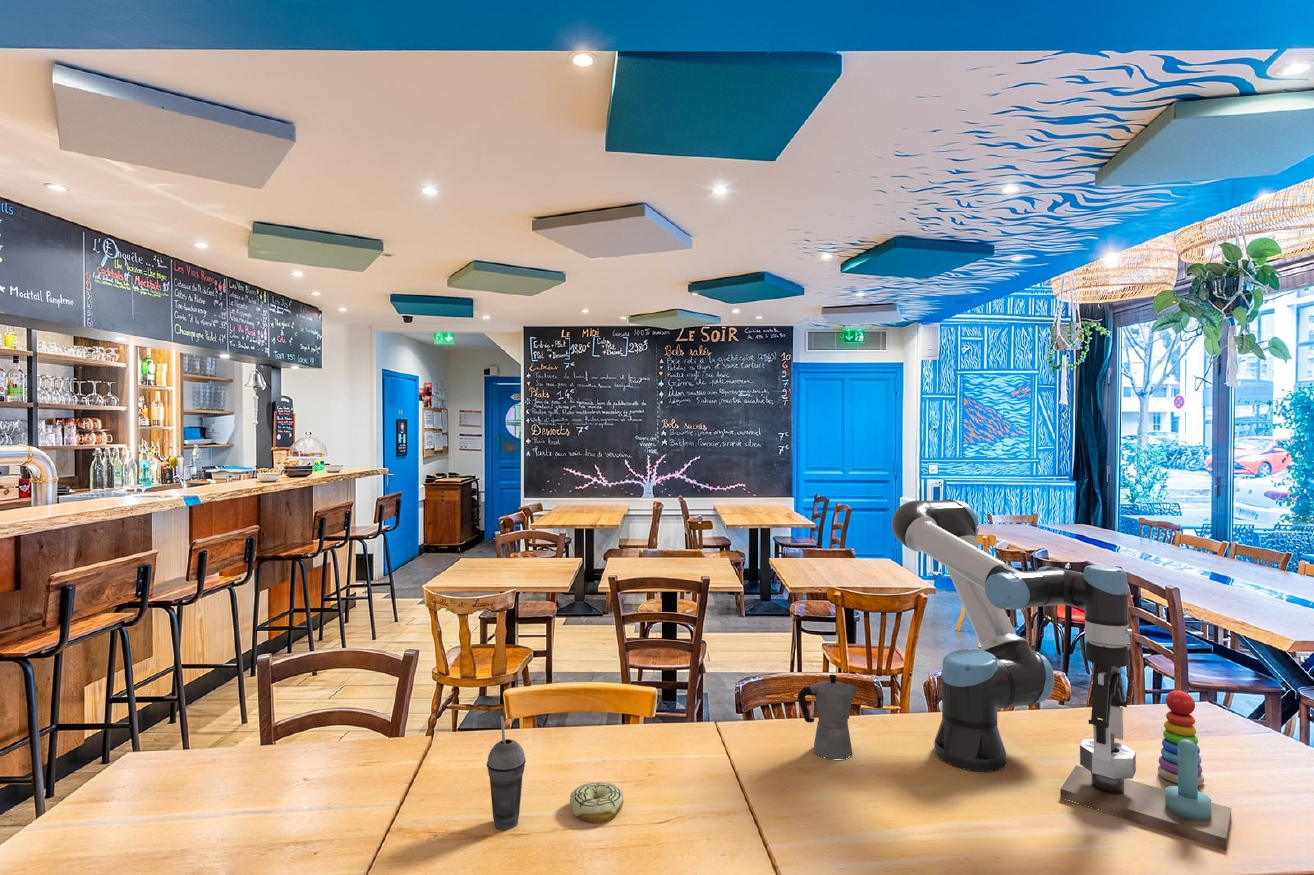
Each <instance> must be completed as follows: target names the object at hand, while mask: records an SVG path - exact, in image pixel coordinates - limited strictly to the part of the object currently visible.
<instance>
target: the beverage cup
mask: <svg viewBox="0 0 1314 875" xmlns="http://www.w3.org/2000/svg"><path fill="white" fill-rule="evenodd" d="M504 722H505V721H504V716H503V715H501V716H500V726H501V738H502V739H501V740H500V741H498V742H497V743H495V744H494V745H493V747H492V748H491V749H490V751H489V752H488V755H487V756H488V757H487V761H486V768H487V774H488V777H489V784H490V786H489V787H490V797H491V807H492V809H491V810H492V820H493V827H494V829H497V830H500V831H507V830H512V829H513V828H516V827H517V826H518V825H519V817H520V811H521V799H522V798H521V797H522V789H523V788H522V786H523V777H524V776H523V775H524V772H525V768H526V767H525V766H526V757H525V752H524V749H523V747H522V746H521V745H520V744H519V743H518V742H517V741H515V740H513V739H509V738H506V734H505V723H504Z"/></svg>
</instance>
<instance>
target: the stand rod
mask: <svg viewBox="0 0 1314 875" xmlns="http://www.w3.org/2000/svg"><path fill="white" fill-rule="evenodd" d="M1110 740H1111V753H1115V749H1114V742H1115V738H1114V734H1113V733H1111V732H1110ZM1091 784H1092V786H1093V787H1094V788H1095V789H1097V790H1099V791H1101V792H1104V793H1107V794H1113V795H1121V794H1123V793H1124V779H1112V778H1109V777H1105V776H1102V775H1098V774H1095V773H1092V772H1091Z"/></svg>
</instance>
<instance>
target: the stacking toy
mask: <svg viewBox="0 0 1314 875" xmlns="http://www.w3.org/2000/svg"><path fill="white" fill-rule="evenodd" d="M1165 705H1166V706H1167V708H1168V709H1169V711H1167V712H1166V714H1165V717H1166V721H1164V723H1163V726H1164V730H1163V731H1162V732H1163V733H1162V734H1163V737H1164V738H1163V739H1162V740H1161V745H1162V747H1161V750H1160V754H1161V756H1159V757H1158V764H1159V765H1158V767H1157V772H1158V774H1159V775H1160V776H1161V777H1162V778H1163V779H1165V780H1166V781H1169V782H1171V783H1174V784H1177V785H1178V743H1179V741H1181V740H1183V739H1187V740H1190V741H1192V742H1193V743H1195V745H1196V746H1197V753H1198V787H1199V786H1202V785H1203V784H1204V783H1205V777H1204V776H1203V774H1202V773H1203V768H1202V766H1201V763H1202V756H1200V753H1201V749H1200V747H1199V746H1198V744H1199V739H1198V737H1197V735H1196V734H1197V728H1196V727H1195V726H1194V725H1195V723H1196V718H1195V717H1194V716H1193V715H1192V713H1193V712H1194V711H1195V708H1196V703H1195V699H1194V698H1193V697H1192V696H1191V695H1190V694H1189V693H1188V692H1186V691H1183V690H1171V691H1169V692H1168V694H1167V695H1166V697H1165Z"/></svg>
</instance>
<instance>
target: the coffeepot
mask: <svg viewBox="0 0 1314 875" xmlns="http://www.w3.org/2000/svg"><path fill="white" fill-rule="evenodd" d="M858 690H860V687H858V686H857V685H854V684H849V683H844V682H840V681H837V675H836V674H830V675H829V681H827V680H823V681H819V682H816V683H813V685H812V686H811V685H810V686H803V687H802V688H801V690H800V691H798V692H799V693H797V701H798V703H799V706H800V709H801V712H802V715H803V719H804V721H805V722H806V723H814V722H815V717H810V711H809V708H808V705H807V700H806V696H812V697H813V696H814V697H815V698H814V699H815V704H816V711H817V716H818V721H817V725H816V730H815V737H814V742H813V751H814V754H816V755H817V754H819V755H820V756H822V757H821V758H823V757H825V758H827V759H826V760H829V759H845V760H847V759H846V758H848V757H849V756H851V757H853V756H852V755H854V754H853V749H852V741H851V735H850V730H849V725H848V724H849V723H848V722H849V721H848V720H849V719H850V716H851V709H852V703H853V702H852V700H853V698H854V696H855V694H856V693H857V691H858ZM820 756H819V757H820ZM825 758H824V759H825ZM848 759H849V758H848Z"/></svg>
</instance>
